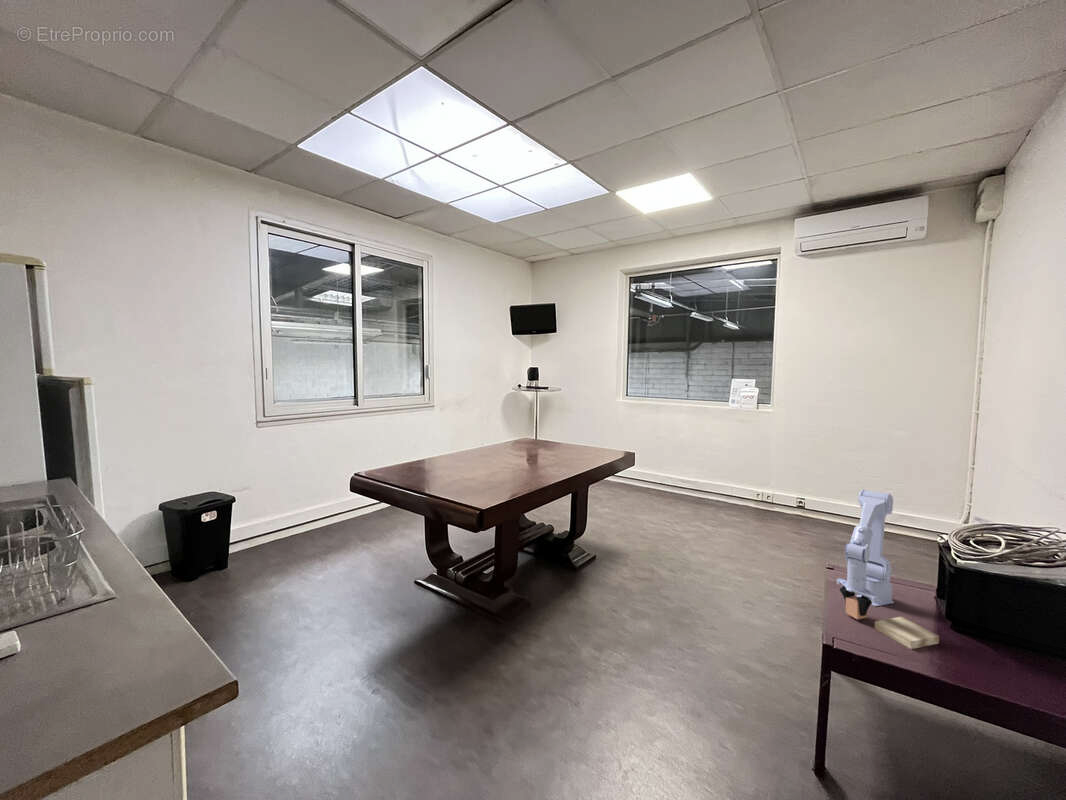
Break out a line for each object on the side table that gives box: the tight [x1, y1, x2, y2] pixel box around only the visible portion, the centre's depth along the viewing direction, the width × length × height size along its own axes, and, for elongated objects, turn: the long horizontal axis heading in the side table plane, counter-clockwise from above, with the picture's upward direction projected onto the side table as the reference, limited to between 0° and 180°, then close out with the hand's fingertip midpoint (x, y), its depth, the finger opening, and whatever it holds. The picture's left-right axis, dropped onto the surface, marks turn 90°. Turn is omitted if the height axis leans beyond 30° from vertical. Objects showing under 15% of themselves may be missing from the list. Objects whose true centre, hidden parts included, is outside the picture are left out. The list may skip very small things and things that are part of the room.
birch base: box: [874, 616, 940, 650], centre depth 149 cm, size 12×12×3 cm
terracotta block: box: [845, 595, 868, 620], centre depth 160 cm, size 4×4×6 cm
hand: (856, 611), depth 160 cm, fingers closed on terracotta block, 4 cm apart
